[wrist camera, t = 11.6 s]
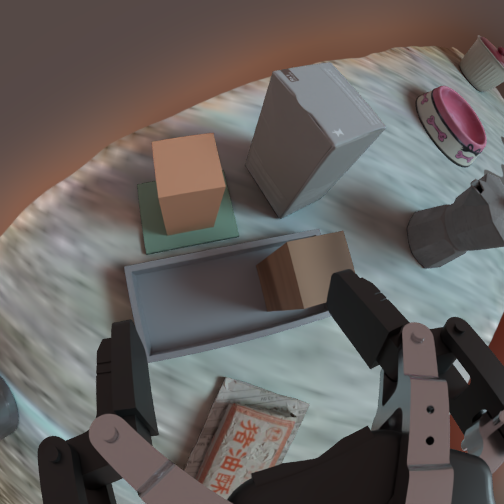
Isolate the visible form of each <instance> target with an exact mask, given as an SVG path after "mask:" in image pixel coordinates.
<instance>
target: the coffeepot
mask: <svg viewBox="0 0 504 504" xmlns="http://www.w3.org/2000/svg"><path fill="white" fill-rule="evenodd" d="M407 231H408V241H409V245H410V248H411V251H412V253H413V255H414V257H415V258H416V259H417V261H418V262H419V263H420V264H421V265H423V266H424V267H425V268H435V267H441V266H443V265H444V264H446V263H448V262H450V261H452V260H454V259H456V258H457V257H459V256H461V255H463V254H465V253H466V251H468V250H481V249H490V248H498V247H504V185H503V183H502V182H501V180H500V179H499V178H498V177H495V176H493V175H490V174H488V173H487V174H486V175H484V176H483V177H482V178H481V179H479V180H477V179H475V180H473V181H472V182H471V187H470V188H468V189H467V190H466V191H464V192H463V193H462V194H461V195H459V196H458V197H457V198H456V199H455V202H454V203H453V204H451V205H442V206H438V207H433V208H429V209H425V210H421V211H417V212H415V213H414V215H413V217H412V218H411V220H410V222H409V225H408V227H407Z"/></svg>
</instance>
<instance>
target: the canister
mask: <svg viewBox="0 0 504 504" xmlns="http://www.w3.org/2000/svg"><path fill="white" fill-rule="evenodd" d="M503 56H504V48H503V47H501V46H499V47H498V50H497V49H496V47H495V46H494V45H493V44H492V43H490V42H489V41H488V40H487V39H486V38H484V37H481V36H478V39H477V41H476V42H475V43H474V45H473V46H472V47H471V48H470V49H469V51H468V52H467V53H466V55H465V56H464V58H463V59H462V60H461V62H460V68H461V71H462V72H463V74H464V75H465V77H466V78H467V79H468V81H469V82H470V83H471V84H472V85H473V86H474V87H475V88H476V89H477V90H479V91H481V92H486V91H488V90H490V89H492V88H494V87H496V86H497V85H499V84H501V83H502V82H504V57H503Z"/></svg>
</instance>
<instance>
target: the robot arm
mask: <svg viewBox="0 0 504 504" xmlns="http://www.w3.org/2000/svg"><path fill="white" fill-rule="evenodd" d="M327 308H328V311H329V313H330V315H331V316H332V317H333V319H334V320H335V321H336V323H337V324H338V325H339V327H340V328H341V329H342V331H343V332H344V333H345V335H346V336H347V338H348V339H349V340H350V342H351V343H352V344H353V346H354V347H355V348H356V350H357V351H358V353H359V354H360V355H361V357H362V358H363V360H364V361H365V362H366V364H367V365H368V366H369V368H370V369H372V368H374V367H376V366H378V365H380V366H381V367H382V369H381V372H380V386H379V399H378V409H377V413H376V416H375V418H374V421H373V424H372V428H371V430H370V429H369V427H368V426H366V427H364V428H362V429H360V430H359V431H357V432H355V433H353V434H351V435H349V436H347V437H345V438H343V439H341V440H340V441H339V442H338V443H336V444H335V445H334V446H333V447H331V448H330V449H329V450H328V451H326V452H325V453H324V454H322V455H321V456H320V457H318V458H316V459H310V460H304V461H297V462H290V463H282V464H279V465H276V466H273V467H270V468H267V469H264V470H261V471H257V472H254V473H251V479H249V480H247V481H245V482H244V483H243V484H241V485H240V486H239V487H238V488H236V489H235V490H234V491H233V492H232V494H231V495H230V496H229V497H228V499H227V500H226V499H224V498H223V497H221V496H220V495H218V494H216V493H215V492H213V491H212V490H210V489H209V488H207V487H206V486H204V485H203V484H201V483H200V482H198V481H197V480H196V479H194V478H193V477H191V476H190V475H189V474H187V473H186V472H185V471H183V470H182V469H181V468H179V467H178V466H177V465H175V464H174V463H173V462H171V461H170V460H168V459H167V458H166V457H165V456H163V455H162V454H161V453H160V452H159V451H157V450H156V449H155V448H154V447H153V445H152V440H151V436H157V435H159V433H158V428H157V423H156V417H155V412H154V406H153V399H152V393H151V386H150V378H149V371H148V362H147V356H146V352H145V349H144V346H143V343H142V341H141V339H140V337H139V335H138V332H137V330H136V328H135V325H134V323H133V321H132V320H126V321H120V322H115V323H112V329H111V338H107V339H103V340H102V342H101V344H100V346H99V348H98V350H97V370H96V373H97V376H96V398H97V415H96V419H95V420H94V421H93V422H92V424H91V426H90V429H89V430H88V431H87V432H85V433H83V434H81V435H79V436H76V437H74V438H71V439H69V440H67V441H65V440H63V439H62V438H60V437H57V436H50V437H47V438H45V439H44V440H43V441H42V442H41V444H40V445H39V448H38V466H39V476H40V485H41V492H42V498H43V504H116V500H115V496H114V492H113V488H112V484H111V483H113V482H115V481H118V480H120V479H122V478H124V479H125V480H126V481H127V482H128V483H129V484H130V485H131V486H132V487H133V488H134V489H135V490H136V491H137V492H138V495H139V497H140V498H141V499H142V500H143V501H144V502H145V503H146V504H496V503H495V499H494V494H493V484H492V483H493V482H492V474H493V473H494V472H495V471H496V470H497V469H498V468H499V467H500V465H501V464H502V463H503V462H504V366H503V365H502V364H501V362H500V361H499V360H498V359H497V357H496V356H495V355H494V354H493V352H492V351H491V350H490V349H489V347H488V346H487V345H486V344H485V343H484V341H483V340H482V339H481V338H480V337H479V336H478V334H477V333H476V332H475V331H474V330H473V329H472V327H471V326H470V325H469V324H468V323H467V322H466V321H465V320H463V319H461V318H458V317H451V318H449V319H448V320H447V322H446V324H445V325H444V327H441V328H435V329H429V328H427V327H426V326H425V325H423V324H420V323H415V322H414V323H410V322H409V321H408V320H407V319H406V318H405V317H404V316H403V315H402V314H401V313H400V312H399V311H398V310H397V308H396V307H395V306H394V305H393V304H392V303H391V302H390V301H389V300H387V299H386V297H385V296H384V295H383V294H382V293H380V290H379V289H378V288H377V287H376V286H375V285H374V284H373V283H371V282H369V281H368V280H366V279H364V278H359V277H358V276H357V275H356V274H355V272H354V271H352V270H351V269H346V270H343V271H339V272H336V273H333V274H332V276H331V280H330V285H329V290H328V295H327ZM456 359H458V361H459V362H460V363H461V365H462V366H463V367H464V368H465V370H466V371H467V372H468V374H469V375H470V378H471V383H470V385H468V384H467V383H466V381H465V380H464V378H463V377H462V376H461V374H460V373H459V372H458V370H457V369H456V368H455V366H454V365H453V363H454V361H455V360H456ZM449 412H450V414H451V415H452V416H453V418H454V420H455V421H456V423H457V424H458V426H459V428H460V429H461V431H462V432H463V434H464V436H465V438H464V440H463V441H462V443H461V447H462V449H463V450H464V451H468V453H465V452H461V451H457V450H454V449H450V420H449V419H450V418H449ZM17 425H18V409H17V406H16V402H15V399H14V397H13V394H12V393H11V391H10V389H9V387H8V386H7V384H6V383H5V381H4V380H3V379H2V378H1V376H0V440H2V439H3V438H5V437H7V436H8V435H10V434H11V433H13V432H14V431H15V430H16V428H17Z"/></svg>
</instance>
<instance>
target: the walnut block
mask: <svg viewBox="0 0 504 504" xmlns="http://www.w3.org/2000/svg"><path fill="white" fill-rule="evenodd" d="M256 268H257V272H258V276H259V280H260V284H261V288H262V292H263V296H264V300H265V304H266V308H267V312H271V311H285V310H297V309H306V308H309V307H312V306H316V305H319V304H322V303H326V302H327V295H328V290H329V285H330V280H331V276H332V274H333V273H336V272H339V271H343V270H346V269H351V270H352V271H354V267H353V263H352V259H351V256H350V252H349V249H348V245H347V242H346V238H345V235H344V232H343V231H340V232H335V233H329V234H324V235H319V236H314V237H309V238H304V239H299V240H294V241H289V242H286V243H285V244H283V245H282V246H281V247H280V248H278V249H277V250H276V251H274V252H273V253H272V254H270V255H269V256H268V257H266V258H265V259H264V260H263V261H261V262H260V263H259V264H257V265H256ZM354 272H355V271H354Z"/></svg>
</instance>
